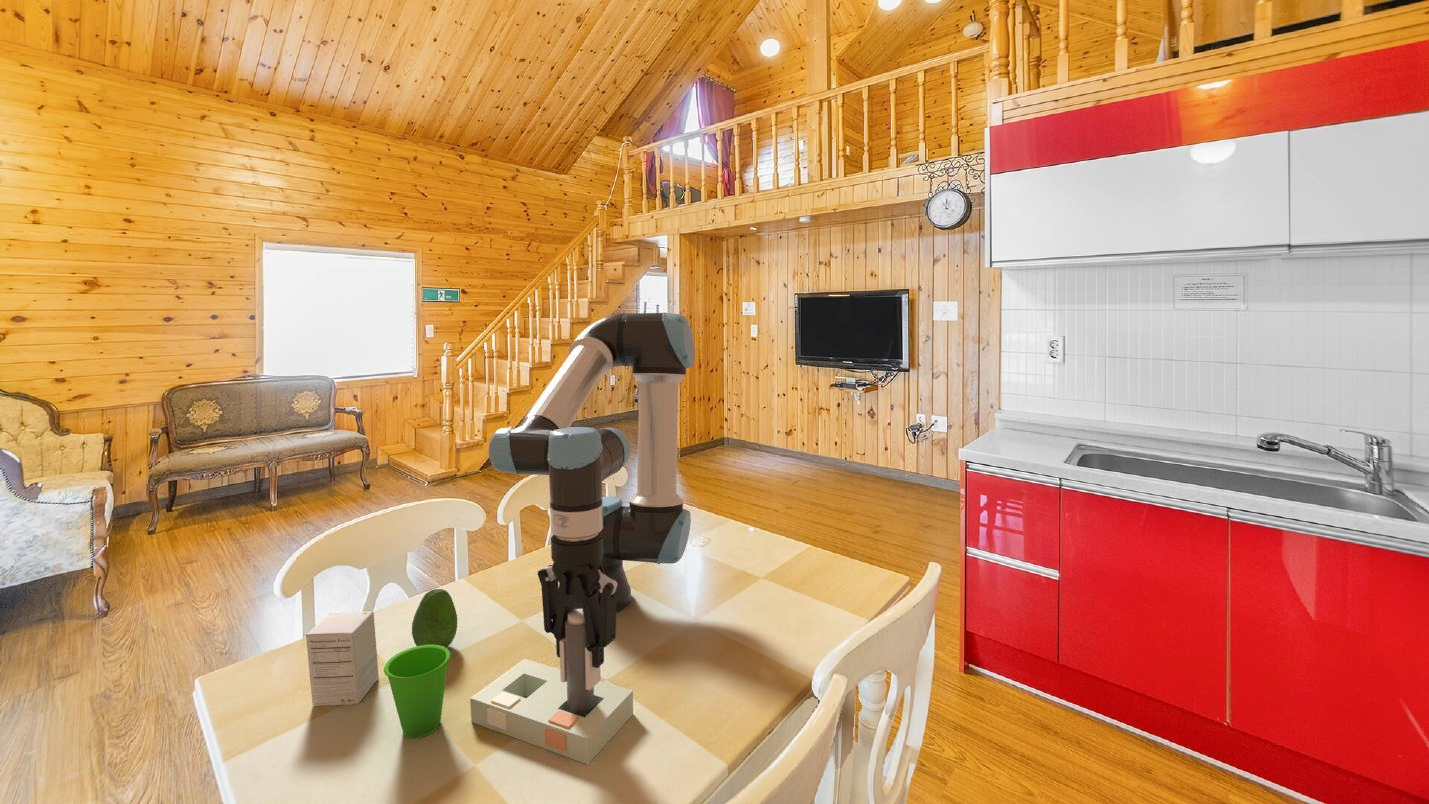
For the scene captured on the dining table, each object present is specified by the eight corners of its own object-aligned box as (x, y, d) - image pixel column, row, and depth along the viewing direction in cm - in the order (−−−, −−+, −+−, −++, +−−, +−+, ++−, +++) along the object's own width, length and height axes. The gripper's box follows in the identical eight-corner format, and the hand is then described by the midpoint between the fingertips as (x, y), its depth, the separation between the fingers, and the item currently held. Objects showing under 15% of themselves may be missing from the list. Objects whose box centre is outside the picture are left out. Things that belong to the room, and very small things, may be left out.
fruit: (405, 651, 111) (401, 590, 109) (446, 634, 117) (443, 577, 115) (424, 666, 106) (420, 603, 104) (466, 648, 112) (463, 589, 110)
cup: (433, 701, 96) (430, 638, 94) (465, 722, 91) (462, 656, 89) (376, 731, 88) (372, 664, 87) (408, 756, 83) (403, 685, 82)
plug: (562, 710, 88) (559, 616, 86) (578, 695, 92) (576, 605, 90) (583, 718, 86) (581, 622, 85) (599, 702, 90) (597, 610, 88)
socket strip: (469, 723, 91) (468, 697, 90) (525, 680, 102) (524, 656, 101) (586, 766, 82) (586, 737, 81) (633, 713, 93) (632, 688, 92)
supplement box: (336, 680, 101) (330, 611, 100) (380, 678, 102) (375, 610, 101) (310, 707, 94) (303, 633, 93) (358, 705, 95) (352, 632, 93)
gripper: (514, 532, 86) (519, 680, 89) (611, 550, 79) (613, 710, 82) (547, 517, 93) (552, 655, 95) (640, 533, 86) (641, 681, 89)
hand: (580, 680), depth 89 cm, fingers closed on plug, 4 cm apart
